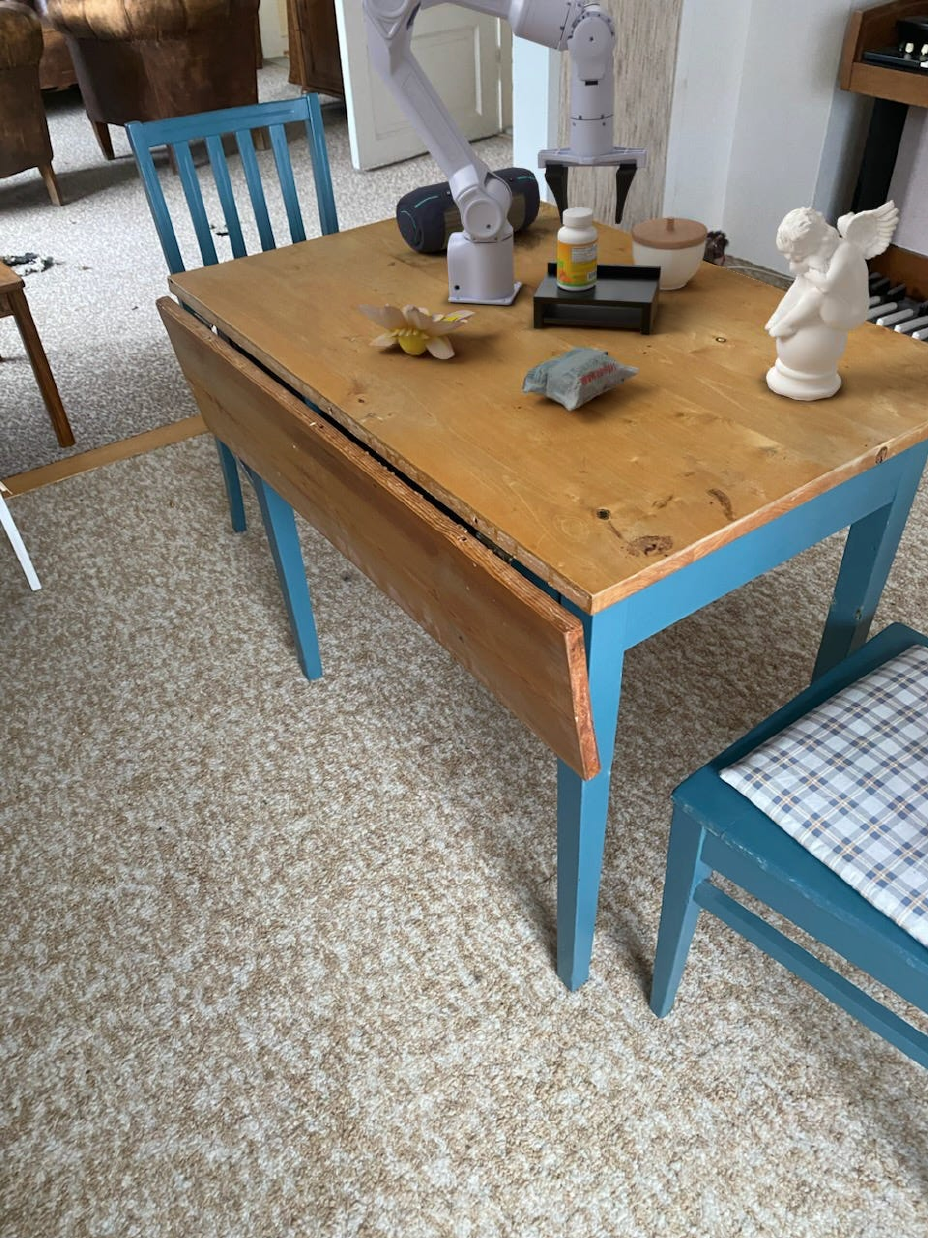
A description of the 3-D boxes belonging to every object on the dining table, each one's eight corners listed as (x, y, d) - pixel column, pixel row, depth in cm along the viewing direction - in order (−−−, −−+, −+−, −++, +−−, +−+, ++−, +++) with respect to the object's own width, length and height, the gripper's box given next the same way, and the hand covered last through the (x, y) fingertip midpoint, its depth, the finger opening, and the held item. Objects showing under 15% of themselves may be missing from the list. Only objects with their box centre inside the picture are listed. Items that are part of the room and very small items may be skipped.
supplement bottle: (554, 278, 134) (554, 206, 128) (592, 275, 134) (594, 203, 128) (560, 293, 130) (561, 219, 123) (599, 289, 130) (602, 216, 124)
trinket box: (698, 268, 146) (705, 204, 140) (705, 295, 138) (712, 228, 132) (628, 269, 147) (631, 206, 141) (630, 296, 139) (634, 230, 133)
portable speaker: (420, 264, 154) (414, 200, 147) (393, 247, 161) (387, 185, 154) (551, 232, 162) (551, 169, 156) (520, 217, 169) (519, 156, 163)
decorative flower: (499, 325, 129) (483, 258, 122) (462, 377, 123) (443, 311, 116) (406, 317, 136) (386, 253, 128) (367, 366, 130) (343, 302, 123)
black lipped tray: (533, 328, 132) (533, 287, 129) (548, 300, 140) (548, 261, 136) (649, 334, 128) (652, 293, 125) (658, 305, 136) (661, 265, 132)
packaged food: (637, 390, 116) (639, 351, 113) (570, 425, 111) (570, 385, 108) (584, 369, 122) (585, 332, 118) (518, 402, 116) (517, 364, 113)
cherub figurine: (745, 389, 115) (773, 198, 101) (781, 350, 123) (812, 167, 109) (846, 411, 109) (891, 213, 95) (878, 369, 117) (924, 179, 103)
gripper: (531, 123, 124) (534, 230, 133) (643, 121, 120) (639, 231, 129) (542, 110, 129) (545, 213, 138) (650, 107, 125) (646, 214, 134)
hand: (591, 221), depth 134 cm, fingers open, 7 cm apart
